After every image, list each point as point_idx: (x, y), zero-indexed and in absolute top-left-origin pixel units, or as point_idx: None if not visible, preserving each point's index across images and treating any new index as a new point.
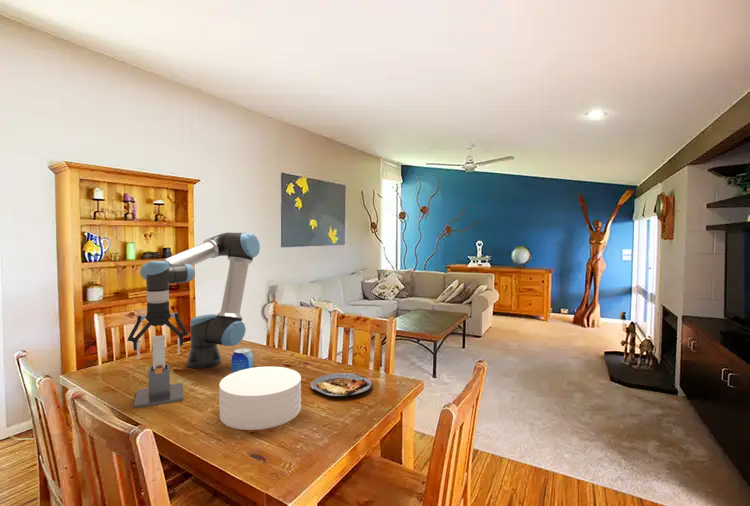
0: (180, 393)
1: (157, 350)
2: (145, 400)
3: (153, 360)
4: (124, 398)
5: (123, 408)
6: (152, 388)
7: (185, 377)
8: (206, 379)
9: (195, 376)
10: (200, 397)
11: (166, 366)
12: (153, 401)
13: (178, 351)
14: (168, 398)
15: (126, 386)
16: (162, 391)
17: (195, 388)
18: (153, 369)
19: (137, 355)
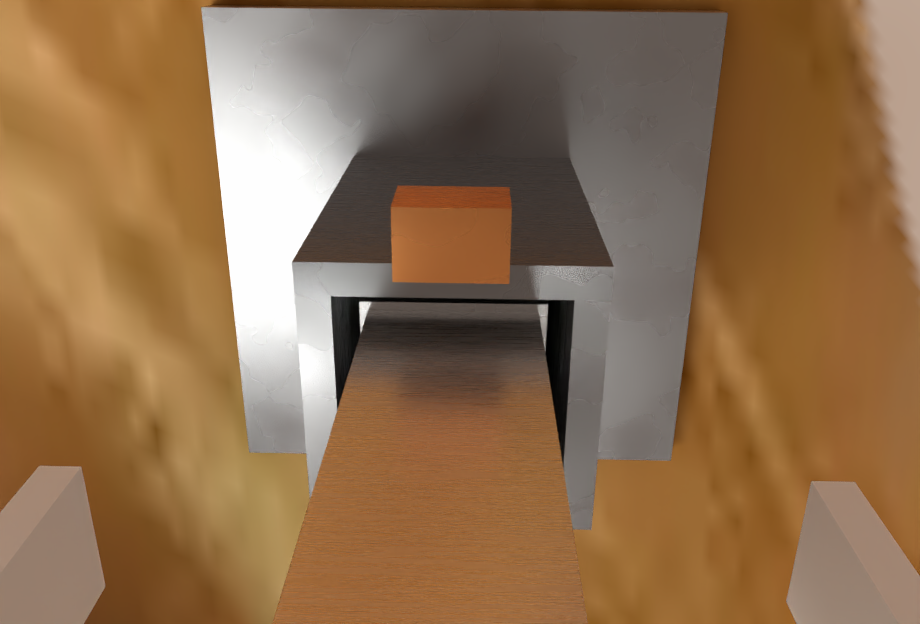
0: (242, 157)
1: (465, 547)
2: (605, 115)
3: (545, 417)
4: (788, 334)
5: (818, 59)
6: (538, 189)
7: (242, 618)
8: None
9: (151, 607)
10: (22, 5)
11: None
12: (523, 40)
13: (29, 512)
14: (364, 60)
15: (750, 613)
16: (426, 169)
17: (113, 302)
18: (537, 337)
19: (885, 538)
